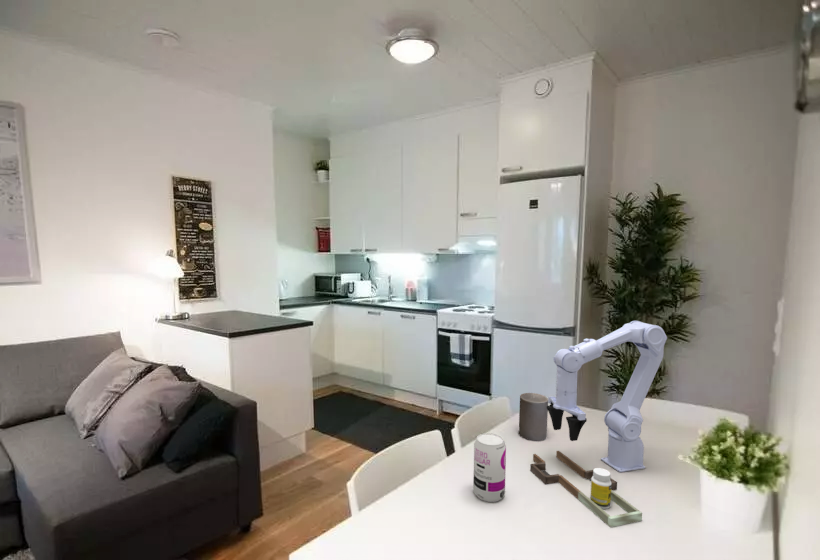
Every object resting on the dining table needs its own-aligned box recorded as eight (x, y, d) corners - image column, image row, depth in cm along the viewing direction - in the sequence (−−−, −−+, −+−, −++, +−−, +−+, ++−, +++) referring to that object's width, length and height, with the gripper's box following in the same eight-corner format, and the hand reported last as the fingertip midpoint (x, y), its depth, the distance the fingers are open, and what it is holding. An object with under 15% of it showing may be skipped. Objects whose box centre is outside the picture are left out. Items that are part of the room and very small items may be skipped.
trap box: (569, 455, 129) (570, 449, 129) (655, 518, 98) (656, 510, 98) (520, 462, 125) (521, 455, 125) (595, 530, 94) (595, 522, 94)
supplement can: (506, 488, 110) (507, 434, 109) (502, 506, 102) (504, 448, 102) (476, 483, 113) (477, 430, 112) (470, 499, 105) (471, 443, 104)
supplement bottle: (611, 511, 101) (613, 478, 100) (591, 506, 102) (592, 474, 102) (609, 500, 105) (610, 468, 105) (589, 496, 107) (590, 465, 106)
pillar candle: (512, 432, 146) (513, 391, 145) (532, 427, 150) (533, 387, 149) (533, 443, 137) (534, 400, 136) (553, 437, 142) (554, 395, 141)
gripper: (540, 383, 127) (539, 426, 127) (571, 399, 113) (569, 447, 113) (559, 381, 129) (558, 423, 129) (592, 397, 115) (590, 444, 116)
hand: (565, 434), depth 122 cm, fingers open, 7 cm apart
